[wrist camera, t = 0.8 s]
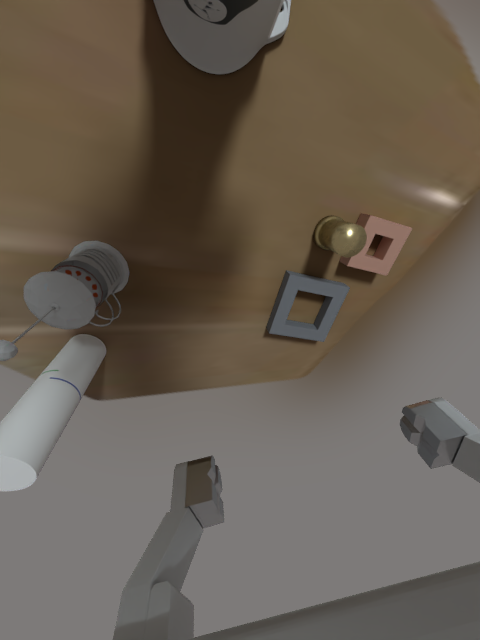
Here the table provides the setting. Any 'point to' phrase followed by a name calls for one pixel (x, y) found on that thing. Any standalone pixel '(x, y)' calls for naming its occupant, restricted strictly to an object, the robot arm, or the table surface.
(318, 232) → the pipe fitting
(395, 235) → the small socket
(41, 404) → the cylindrical container
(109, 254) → the french press
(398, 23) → the table surface
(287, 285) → the socket block
